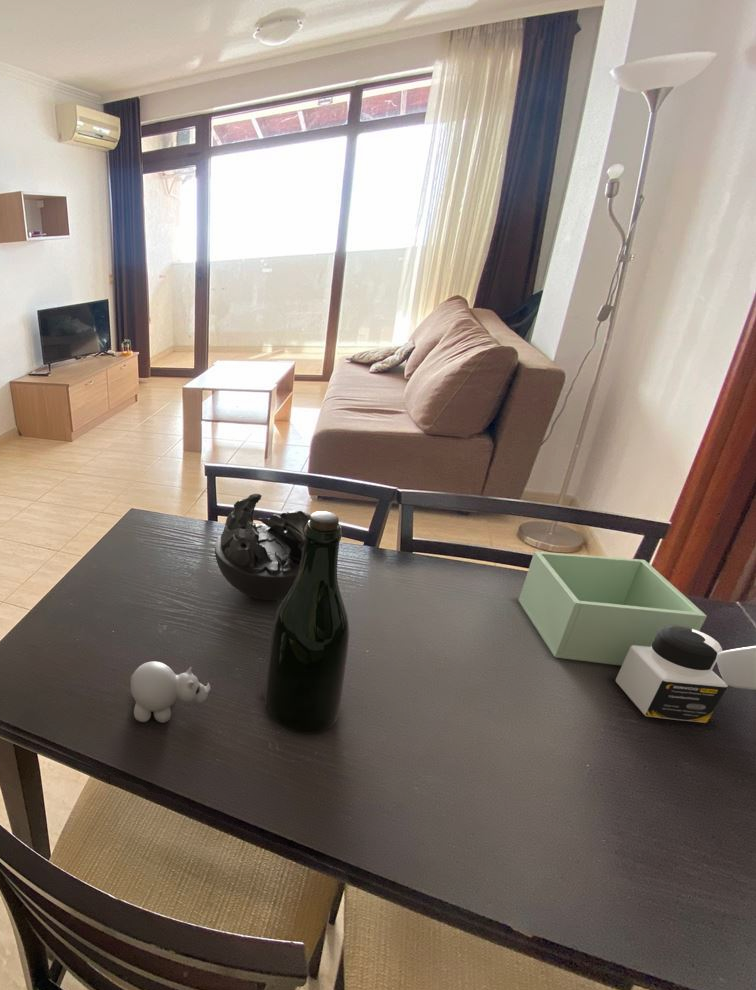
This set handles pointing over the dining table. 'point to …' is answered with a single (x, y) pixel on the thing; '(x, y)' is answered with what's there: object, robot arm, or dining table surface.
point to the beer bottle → (310, 636)
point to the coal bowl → (261, 550)
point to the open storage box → (601, 605)
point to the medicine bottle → (674, 675)
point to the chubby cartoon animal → (163, 690)
